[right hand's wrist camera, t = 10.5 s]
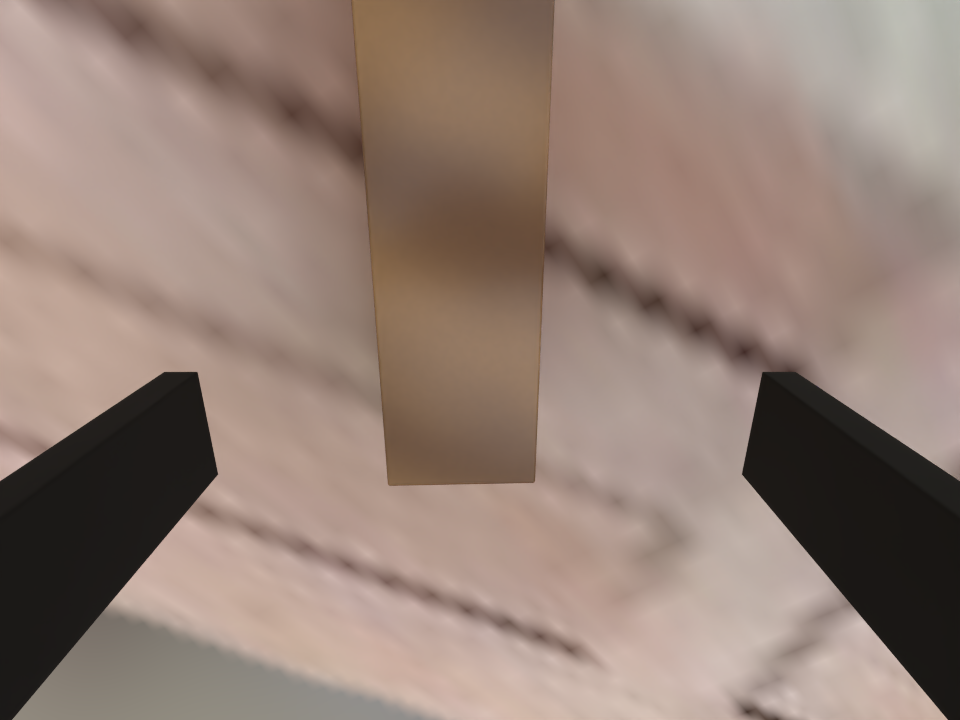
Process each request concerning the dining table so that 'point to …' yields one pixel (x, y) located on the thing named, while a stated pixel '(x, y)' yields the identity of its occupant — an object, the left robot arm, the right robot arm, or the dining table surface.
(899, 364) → the dining table surface
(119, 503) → the right robot arm
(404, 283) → the post
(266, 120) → the dining table surface
